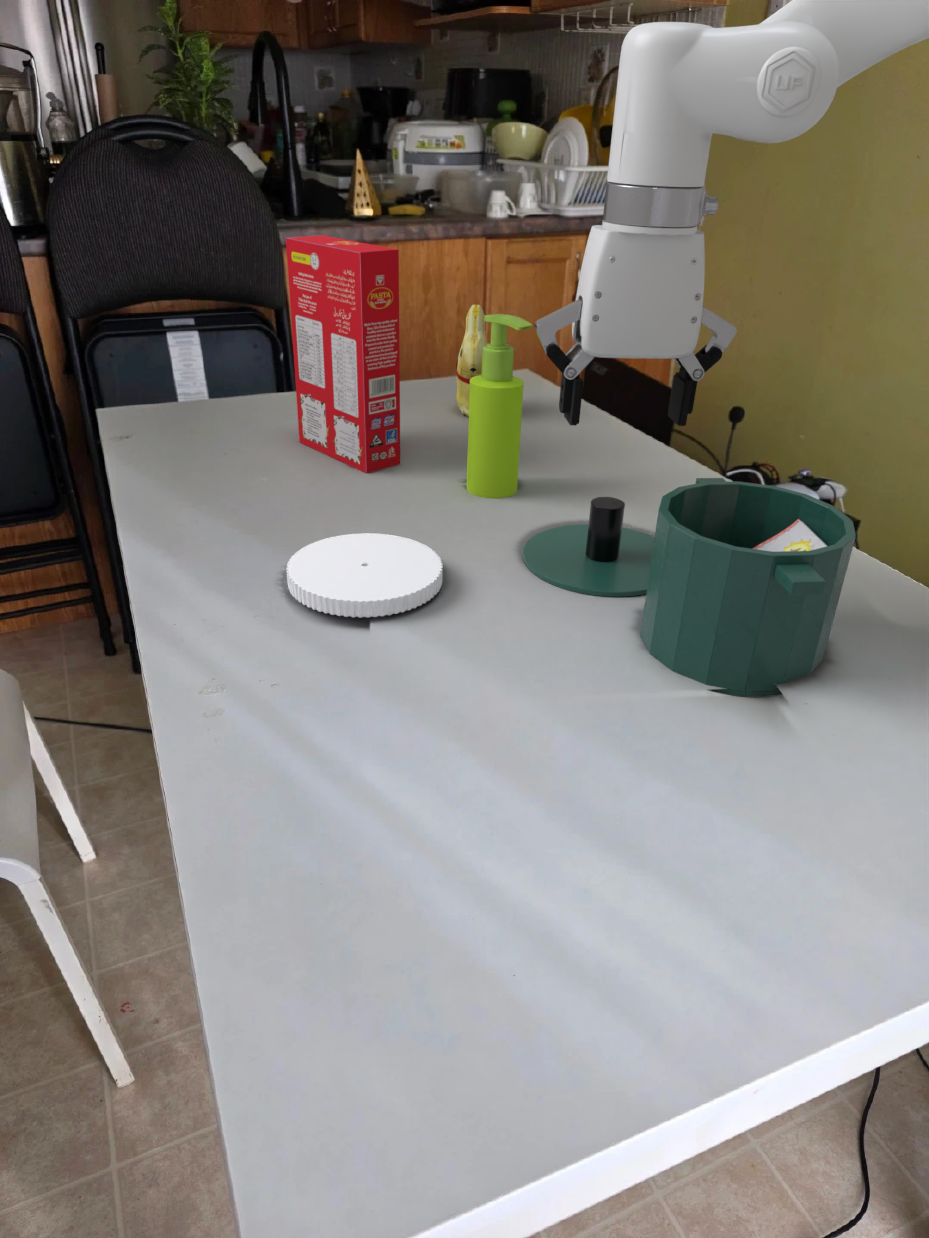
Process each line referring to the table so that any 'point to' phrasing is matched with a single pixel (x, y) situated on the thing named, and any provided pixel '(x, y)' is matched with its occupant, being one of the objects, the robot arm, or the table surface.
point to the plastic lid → (364, 575)
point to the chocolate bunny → (470, 355)
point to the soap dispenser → (495, 415)
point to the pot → (742, 585)
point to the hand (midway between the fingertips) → (624, 421)
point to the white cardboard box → (793, 539)
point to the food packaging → (346, 348)
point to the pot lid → (593, 554)
